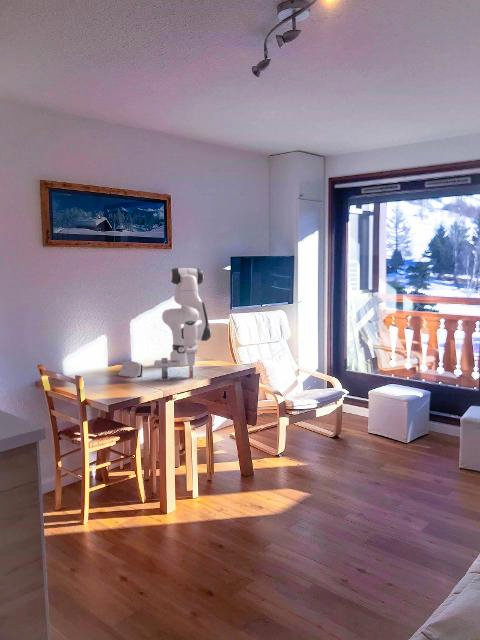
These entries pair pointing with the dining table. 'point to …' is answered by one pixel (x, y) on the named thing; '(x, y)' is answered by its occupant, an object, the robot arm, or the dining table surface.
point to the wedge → (190, 373)
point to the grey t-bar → (165, 367)
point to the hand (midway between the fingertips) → (191, 370)
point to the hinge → (131, 369)
